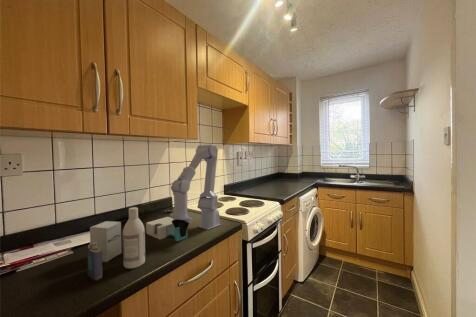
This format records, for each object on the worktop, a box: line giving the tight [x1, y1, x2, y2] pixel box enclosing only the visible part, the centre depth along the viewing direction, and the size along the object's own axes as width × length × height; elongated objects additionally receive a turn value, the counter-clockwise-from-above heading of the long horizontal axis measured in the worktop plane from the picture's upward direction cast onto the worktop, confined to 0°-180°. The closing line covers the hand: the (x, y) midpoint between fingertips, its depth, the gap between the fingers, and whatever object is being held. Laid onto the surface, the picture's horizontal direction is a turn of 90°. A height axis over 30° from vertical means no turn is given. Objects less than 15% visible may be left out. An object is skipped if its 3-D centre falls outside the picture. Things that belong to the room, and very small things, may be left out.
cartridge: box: [166, 225, 189, 242], centre depth 98 cm, size 6×20×6 cm, turn 52°
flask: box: [87, 242, 104, 281], centre depth 66 cm, size 9×3×11 cm, turn 49°
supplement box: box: [89, 220, 122, 263], centre depth 78 cm, size 7×7×13 cm
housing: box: [145, 216, 174, 240], centre depth 102 cm, size 12×12×5 cm
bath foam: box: [122, 206, 146, 270], centre depth 72 cm, size 7×7×20 cm
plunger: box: [155, 223, 161, 234], centre depth 97 cm, size 3×3×4 cm
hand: (181, 235), depth 93 cm, fingers open, 2 cm apart
